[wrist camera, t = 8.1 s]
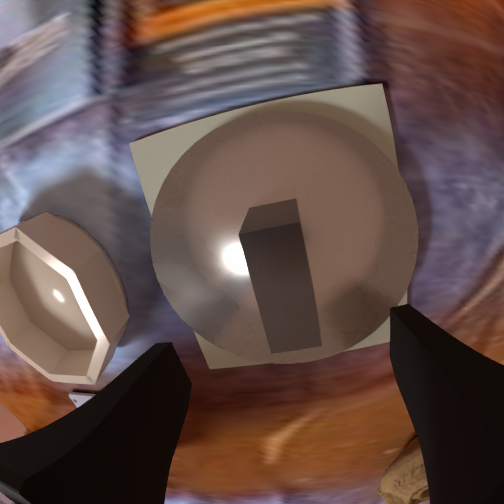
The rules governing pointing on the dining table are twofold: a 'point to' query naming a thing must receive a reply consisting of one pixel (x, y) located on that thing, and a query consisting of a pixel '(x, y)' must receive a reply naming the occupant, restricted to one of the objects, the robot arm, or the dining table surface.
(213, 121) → the mat
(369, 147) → the lid
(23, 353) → the bowl
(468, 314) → the dining table surface
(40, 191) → the dining table surface
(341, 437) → the dining table surface
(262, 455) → the dining table surface
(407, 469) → the oil lamp
